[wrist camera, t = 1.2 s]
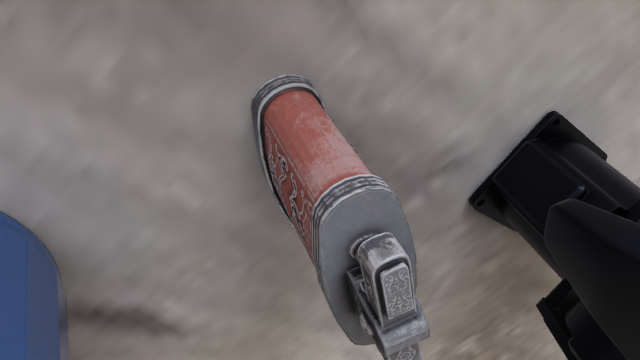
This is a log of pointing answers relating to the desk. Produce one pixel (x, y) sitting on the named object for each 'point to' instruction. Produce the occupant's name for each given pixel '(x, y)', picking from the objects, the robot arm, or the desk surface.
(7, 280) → the blue round bin
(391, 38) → the desk surface
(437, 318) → the desk surface
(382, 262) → the lighter
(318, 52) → the desk surface
